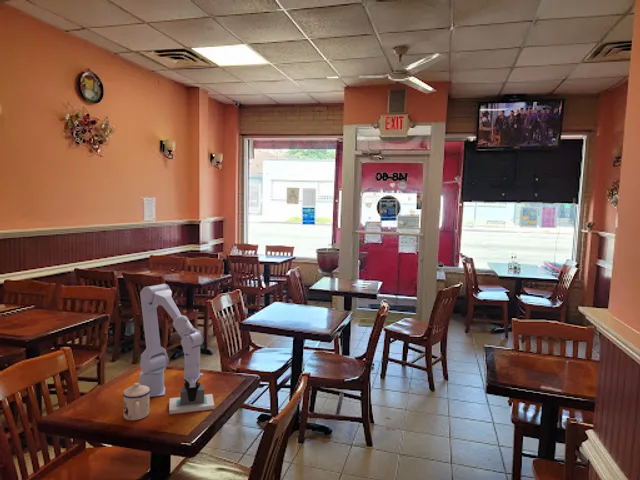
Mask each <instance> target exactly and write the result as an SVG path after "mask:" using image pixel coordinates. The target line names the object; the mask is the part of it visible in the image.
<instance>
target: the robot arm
mask: <svg viewBox="0 0 640 480" xmlns="http://www.w3.org/2000/svg"><path fill="white" fill-rule="evenodd" d="M139 294H140V303H141V304H140V306H141V311H142V321H143V331H144V339H145V340H144V341H145V347H146V348H145V349H144V351H143V352H142V353H141V354H140V362H139V363H140V364H139V367H140V370H141V371H140V372H139V377H138V378H139V380H138V381H139V382H138V383H139V384H140V385H144V386H147V387H149V389H150V393H149V398H152V397H162V396H165V394H166V386H165V371H166V368H167V366H168V365H169V361H170V360H169V357H168V356H169V355H168V353H167V349H165V348H164V347H163V346H161V337H160V330H159V320H158V310H157V309H158V306H162V308H163V309H164V310H165V312H166V313H167V314H168V315H169V316H170V318H171V319H172V326H173V328H174V329H175V330H176V332H177V334H178V335H179V336H180V338H181V339H180V344H181V345H180V346H181V347H182V352H183V354H184V356H183V357H184V361H183V364H184V366H183V369H184V370H183V372H184V373H183V380H184V382H185V383H183V384H184V386H183V387H185V388H186V390H187V393H188V399H189V402H192V401H195V399H196V394H197V390H198V388H199V386H201V382H198V381H199V380H200V378H202V377H204V373H203V372H201V345H203V343H204V335H203V332H202V331H201V330H199V329H197V328H195V327H194V325H192V323H191V322H190V320H189V318H188V317H187V315H183V314H182V313H181V312H180V310H179V308H178V306H177V304H176V303H175V301H174V299H173V297H172V296H173V291H172V290H171V288H170V286H169V284H166V283H161V284H156V285H150V286H144V287H143V288H142V289H141V290H140V292H139Z"/></svg>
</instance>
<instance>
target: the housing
mask: <svg viewBox="0 0 640 480" xmlns="http://www.w3.org/2000/svg"><path fill="white" fill-rule="evenodd" d="M179 391H180V392H179V393H180V395H179V397H180V405H186V404H196V403H204V395H205V385H204V384H203V385H200V386H199V388H198V390H197V394H196V399H195V401H192V402H189V399H188V393H187V390H186V388H185V386H183V387H182V386H181V387H180V390H179Z"/></svg>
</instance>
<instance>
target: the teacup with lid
mask: <svg viewBox="0 0 640 480" xmlns="http://www.w3.org/2000/svg"><path fill="white" fill-rule="evenodd" d="M149 393H150V389H149V387H147V386H144V385H140V384H139V382H135V383H133V385H131V386H130V387H127V388H126V389H124V390H123V392H122V399H123V402H122V403H123V410H122V411H123V413H122V414H123V416H122V417H123V418H124V419H125V420H127V421H137V420H138V421H139V420H141V419H142V420H143V419H144V418H146V417H147V416H149V415H150V397H149Z"/></svg>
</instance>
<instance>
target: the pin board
mask: <svg viewBox="0 0 640 480" xmlns="http://www.w3.org/2000/svg"><path fill="white" fill-rule="evenodd" d="M168 407H169V408H168V415H174V414H175V415H176V414H183V413H184V414H185V413H191V412H192V413H193V412H200V411H210V410H215V402H214V395H213V393H208V394H207V393H206V394H204V403H196V404H186V405H180V396H178V397H170V398H169V404H168Z"/></svg>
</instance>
